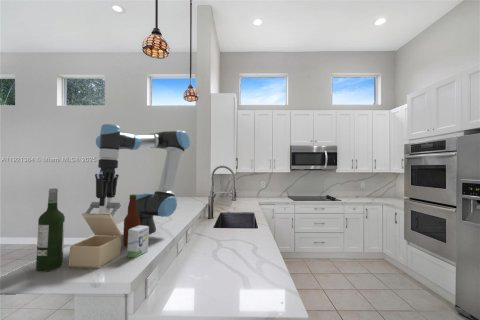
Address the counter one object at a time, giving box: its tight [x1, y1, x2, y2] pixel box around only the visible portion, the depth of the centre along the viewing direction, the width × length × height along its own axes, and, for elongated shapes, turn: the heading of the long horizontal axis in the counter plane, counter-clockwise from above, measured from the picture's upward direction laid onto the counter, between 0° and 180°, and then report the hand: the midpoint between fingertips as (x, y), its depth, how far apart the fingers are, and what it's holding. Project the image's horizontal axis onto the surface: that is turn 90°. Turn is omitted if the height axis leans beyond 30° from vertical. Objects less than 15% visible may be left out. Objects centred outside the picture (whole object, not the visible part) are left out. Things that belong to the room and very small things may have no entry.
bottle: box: [122, 194, 140, 248], centre depth 116 cm, size 7×7×25 cm
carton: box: [68, 235, 122, 269], centre depth 96 cm, size 14×12×8 cm
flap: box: [81, 201, 122, 237], centre depth 102 cm, size 14×12×8 cm
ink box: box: [126, 225, 150, 259], centre depth 104 cm, size 9×5×12 cm, turn 168°
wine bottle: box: [35, 188, 66, 272], centre depth 89 cm, size 8×8×30 cm
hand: (105, 212), depth 101 cm, fingers open, 3 cm apart
